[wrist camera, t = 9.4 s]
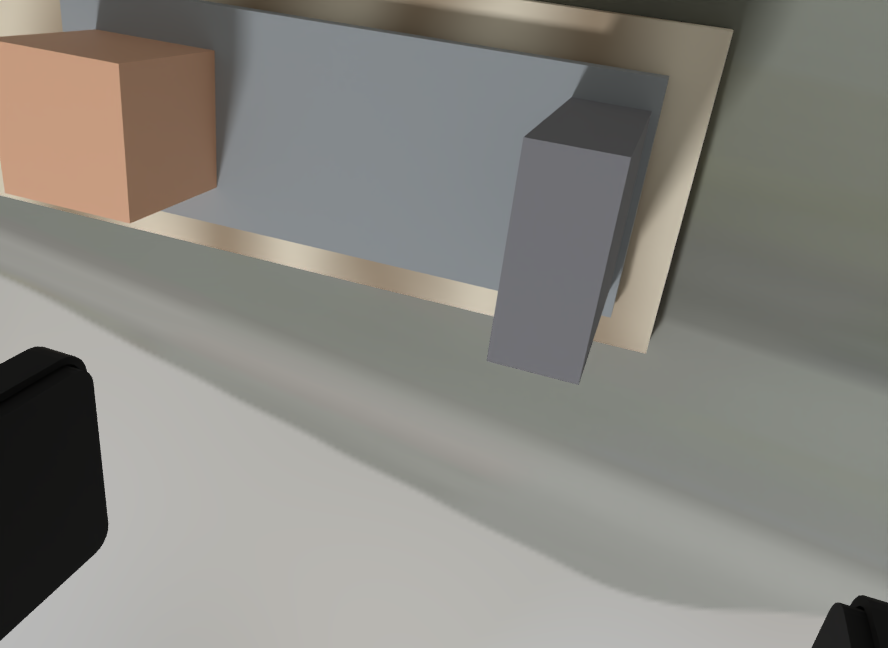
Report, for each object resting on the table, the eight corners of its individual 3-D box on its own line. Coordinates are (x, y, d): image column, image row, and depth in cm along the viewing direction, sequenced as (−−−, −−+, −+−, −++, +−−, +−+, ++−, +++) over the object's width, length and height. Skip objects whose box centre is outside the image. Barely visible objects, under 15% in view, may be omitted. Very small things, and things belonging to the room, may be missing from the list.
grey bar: (669, 75, 23) (653, 114, 16) (612, 308, 27) (580, 419, 20) (73, -21, 28) (-128, -22, 21) (92, 186, 32) (-75, 242, 25)
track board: (732, 28, 23) (733, 31, 22) (647, 342, 28) (645, 353, 27) (-104, -92, 31) (-128, -95, 30) (-56, 172, 36) (-75, 176, 35)
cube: (214, 50, 27) (118, 63, 22) (216, 187, 29) (129, 223, 25) (95, 29, 28) (-18, 38, 23) (106, 162, 30) (5, 193, 26)
